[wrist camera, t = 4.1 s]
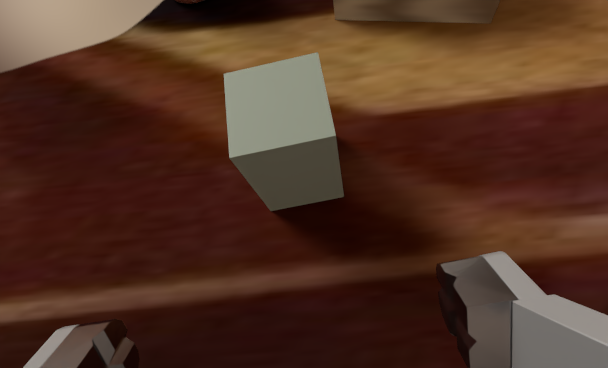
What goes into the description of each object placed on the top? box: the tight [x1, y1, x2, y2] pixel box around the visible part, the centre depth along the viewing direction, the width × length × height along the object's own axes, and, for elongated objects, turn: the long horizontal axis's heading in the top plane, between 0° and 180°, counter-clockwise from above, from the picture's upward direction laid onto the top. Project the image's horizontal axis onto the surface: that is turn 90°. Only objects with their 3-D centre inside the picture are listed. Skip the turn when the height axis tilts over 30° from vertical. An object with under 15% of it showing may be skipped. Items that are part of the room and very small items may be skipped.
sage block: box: [224, 52, 344, 211], centre depth 21 cm, size 5×5×8 cm
